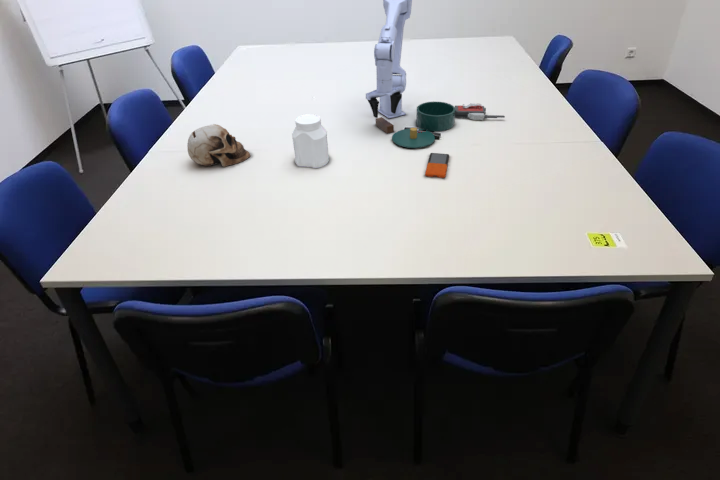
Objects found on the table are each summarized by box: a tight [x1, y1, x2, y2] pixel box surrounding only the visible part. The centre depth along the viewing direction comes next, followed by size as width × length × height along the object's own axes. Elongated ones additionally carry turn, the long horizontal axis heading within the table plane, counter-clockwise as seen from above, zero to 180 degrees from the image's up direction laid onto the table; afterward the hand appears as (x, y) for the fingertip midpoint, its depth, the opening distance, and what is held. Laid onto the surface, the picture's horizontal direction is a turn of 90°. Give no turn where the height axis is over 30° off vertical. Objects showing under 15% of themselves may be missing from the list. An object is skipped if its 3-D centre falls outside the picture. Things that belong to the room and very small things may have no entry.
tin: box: [415, 101, 456, 132], centre depth 180 cm, size 14×14×6 cm
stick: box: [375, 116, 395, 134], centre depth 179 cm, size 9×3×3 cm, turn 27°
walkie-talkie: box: [454, 103, 506, 121], centre depth 185 cm, size 9×4×20 cm
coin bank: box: [186, 123, 251, 168], centre depth 160 cm, size 16×17×13 cm
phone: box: [424, 152, 450, 179], centre depth 154 cm, size 6×1×15 cm
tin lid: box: [391, 127, 436, 149], centre depth 170 cm, size 15×15×4 cm
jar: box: [291, 113, 330, 169], centre depth 156 cm, size 12×10×15 cm
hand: (384, 114), depth 176 cm, fingers open, 7 cm apart
